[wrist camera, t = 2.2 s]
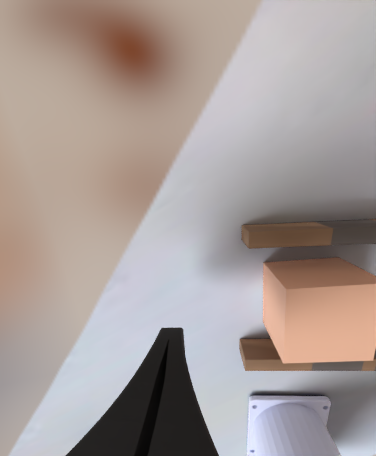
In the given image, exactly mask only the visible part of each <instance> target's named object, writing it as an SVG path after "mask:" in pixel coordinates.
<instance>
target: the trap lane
mask: <svg viewBox="0 0 376 456" xmlns="http://www.w3.org/2000/svg"><path fill="white" fill-rule="evenodd" d="M241 240H242V241H243V242H244V243H245V244H246V246H247V247H248V248H273V247H299V246H324V245H350V244H376V219H364V220H343V221H321V222H300V223H278V224H256V225H242V238H241ZM239 349H240V353H241V357H242V361H243V364H244V368H245V371H376V349H375V354H374V359H373V361H345V362H314V363H284V364H283V362H282V360H281V358H280V356H279V354H278V352H277V350H276V348H275V346H274V343H273V341H272V339H240V348H239Z"/></svg>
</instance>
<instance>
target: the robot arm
mask: <svg viewBox="0 0 376 456" xmlns="http://www.w3.org/2000/svg"><path fill="white" fill-rule="evenodd" d="M330 406H331V402H330V400H329V398H328V397H326V396H251V397H250V398H249V410H248V436H247V455H248V456H341V454H340V452H339V450H338V449H337V447H336V445H335V443H334V441H333V439H332V437H331V435H330V434H329V432H328V430H327V428H326V426H327V421H328V416H329V411H330ZM66 456H219V455H218V453H217V450H216V448H215V446H214V443H213V441H212V438H211V436H210V434H209V431H208V428H207V426H206V423H205V421H204V418H203V415H202V413H201V410H200V407H199V404H198V401H197V398H196V395H195V392H194V389H193V386H192V382H191V379H190V375H189V371H188V367H187V363H186V358H185V347H184V335H183V329H182V328H162V329H161V330H160V332H159V334H158V336H157V338H156V340H155V342H154V344H153V345H152V347H151V349H150V351H149V352H148V354H147V356H146V357H145V359H144V361H143V362H142V364H141V365H140V367H139V368H138V370H137V371H136V373H135V375H134V376H133V378H132V379H131V380H130V382H129V383H128V385H127V386H126V387H125V389H124V390H123V391H122V393H121V394H120V395H119V397H118V398H117V399H116V400H115V402H114V403H113V404H112V405H111V406H110V408H109V409H108V410H107V411H106V413H105V414H104V415H103V416H102V417H101V418H100V420H99V421H98V422H97V423H96V424H95V425H94V426H93V427H92V428H91V429H90V431H89V432H88V433H87V434H86V435H85V436H84V437H83V438H82V439H81V440H80V441H79V443H78V444H77V445H76V446H75V447H74V448H73V449H72V450H71V451H70V452H69V453H68V454H67V455H66Z"/></svg>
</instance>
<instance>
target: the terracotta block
mask: <svg viewBox="0 0 376 456" xmlns="http://www.w3.org/2000/svg"><path fill="white" fill-rule="evenodd" d="M263 323H264V325H265V327H266V329H267V331H268V333H269V335H270V337H271V339H272V341H273V343H274V346H275V348H276V350H277V352H278V354H279V356H280V358H281V360H282V362H283V364H284V363H314V362H345V361H373V359H374V354H375V349H376V276H374V275H372V274H370V273H368V272H366V271H365V270H363V269H361V268H359V267H357V266H355V265H353V264H351V263H349V262H347V261H345V260H343V259H341V258H339V257H333V258H320V259H306V260H292V261H278V262H265V263H263Z"/></svg>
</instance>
